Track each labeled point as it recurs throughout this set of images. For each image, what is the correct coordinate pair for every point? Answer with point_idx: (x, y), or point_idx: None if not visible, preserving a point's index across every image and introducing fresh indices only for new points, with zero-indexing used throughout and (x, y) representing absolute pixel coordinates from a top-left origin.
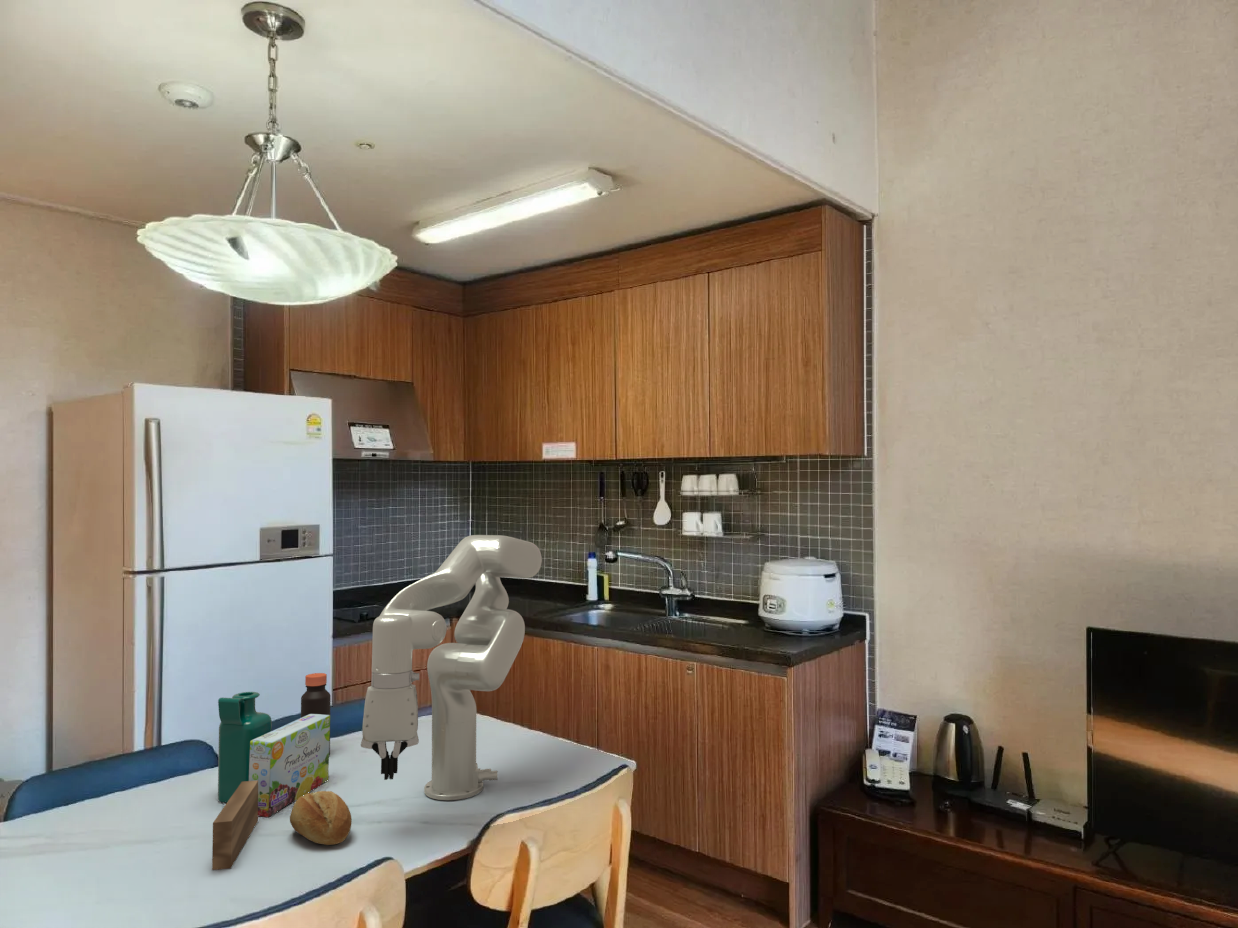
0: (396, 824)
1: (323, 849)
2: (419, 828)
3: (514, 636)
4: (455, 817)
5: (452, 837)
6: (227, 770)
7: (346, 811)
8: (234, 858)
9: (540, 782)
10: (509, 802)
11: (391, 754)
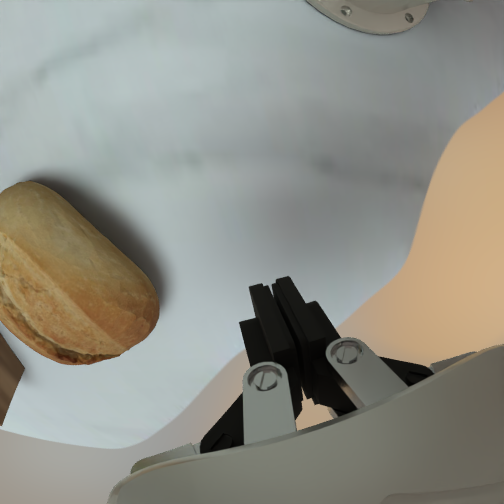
0: (249, 178)
1: None
2: (316, 204)
3: None
4: (391, 142)
5: (387, 251)
6: None
7: (139, 319)
8: (11, 357)
9: (498, 5)
10: (474, 82)
11: (320, 400)
